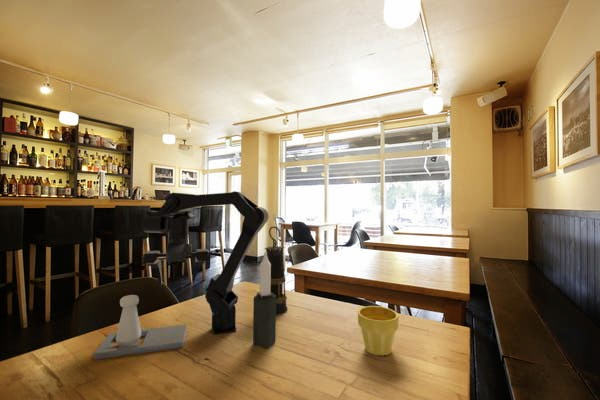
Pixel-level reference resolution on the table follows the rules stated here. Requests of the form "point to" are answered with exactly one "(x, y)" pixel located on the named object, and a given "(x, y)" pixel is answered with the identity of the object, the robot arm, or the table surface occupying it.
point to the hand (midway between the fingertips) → (177, 283)
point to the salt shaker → (128, 322)
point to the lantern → (277, 274)
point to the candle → (264, 309)
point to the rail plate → (145, 342)
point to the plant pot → (378, 328)
